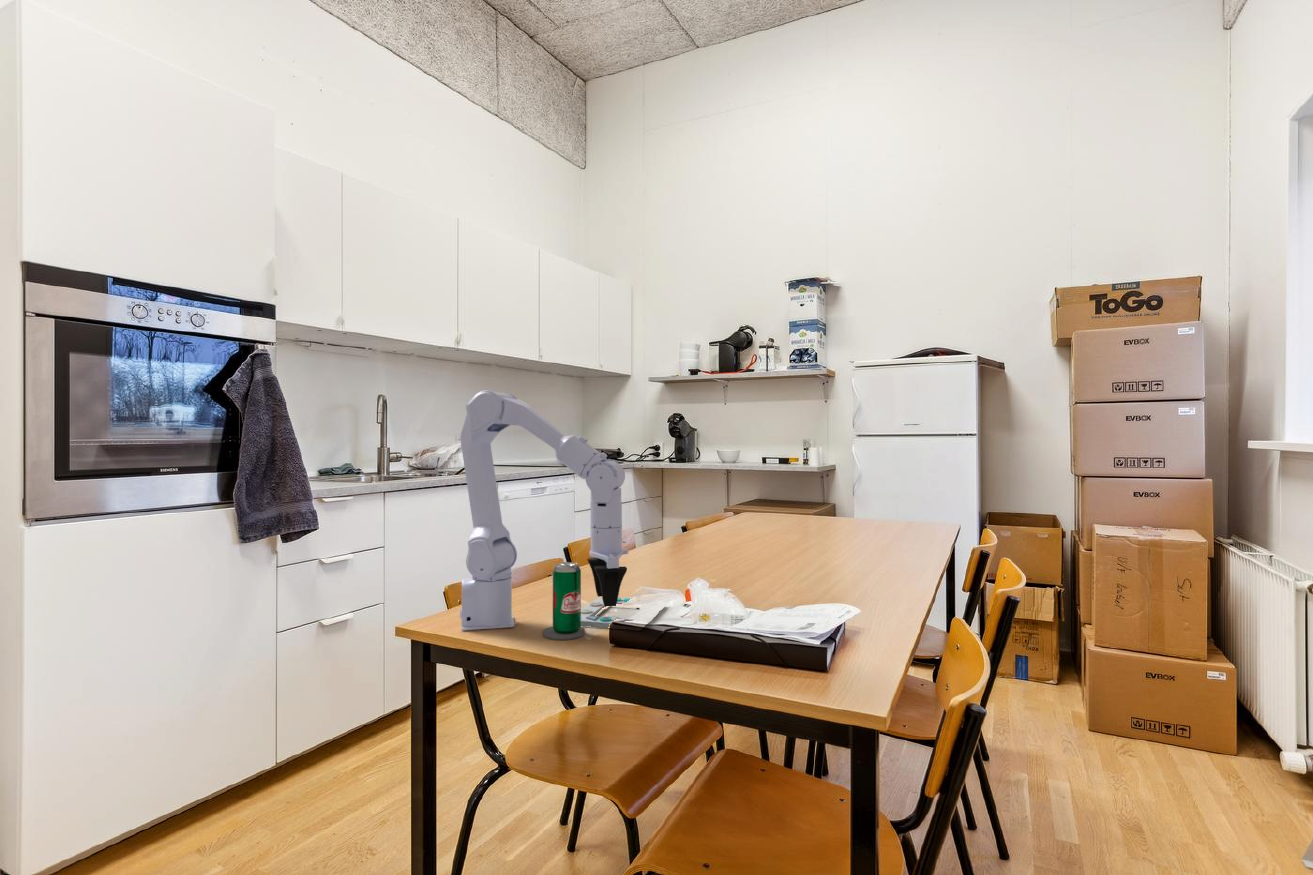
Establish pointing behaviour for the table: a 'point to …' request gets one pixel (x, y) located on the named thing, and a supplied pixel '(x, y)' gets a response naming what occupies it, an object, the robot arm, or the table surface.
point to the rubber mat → (551, 634)
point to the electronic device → (592, 609)
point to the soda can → (566, 598)
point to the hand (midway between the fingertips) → (606, 600)
